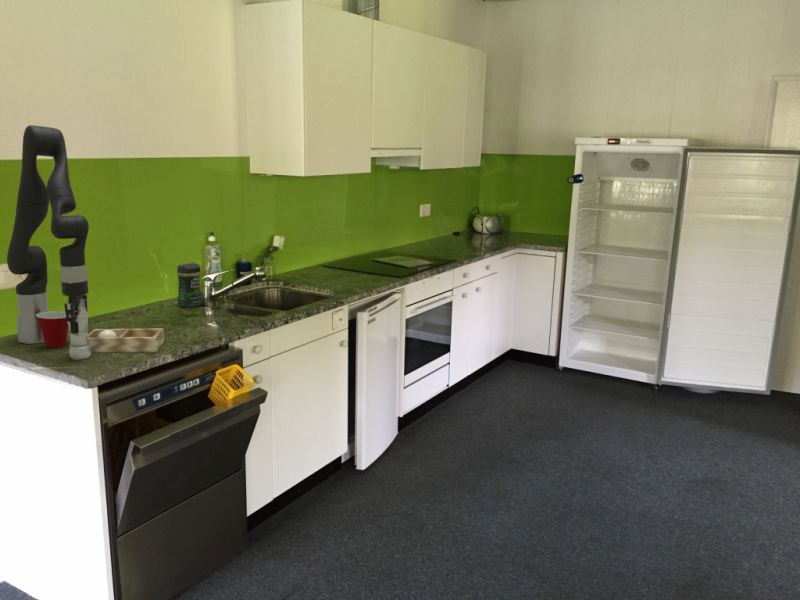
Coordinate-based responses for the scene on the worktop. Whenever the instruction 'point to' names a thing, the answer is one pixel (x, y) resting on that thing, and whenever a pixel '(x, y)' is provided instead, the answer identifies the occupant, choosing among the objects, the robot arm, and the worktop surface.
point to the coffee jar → (189, 285)
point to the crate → (127, 340)
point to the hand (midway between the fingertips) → (78, 330)
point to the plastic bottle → (80, 338)
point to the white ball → (107, 334)
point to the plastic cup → (53, 328)
